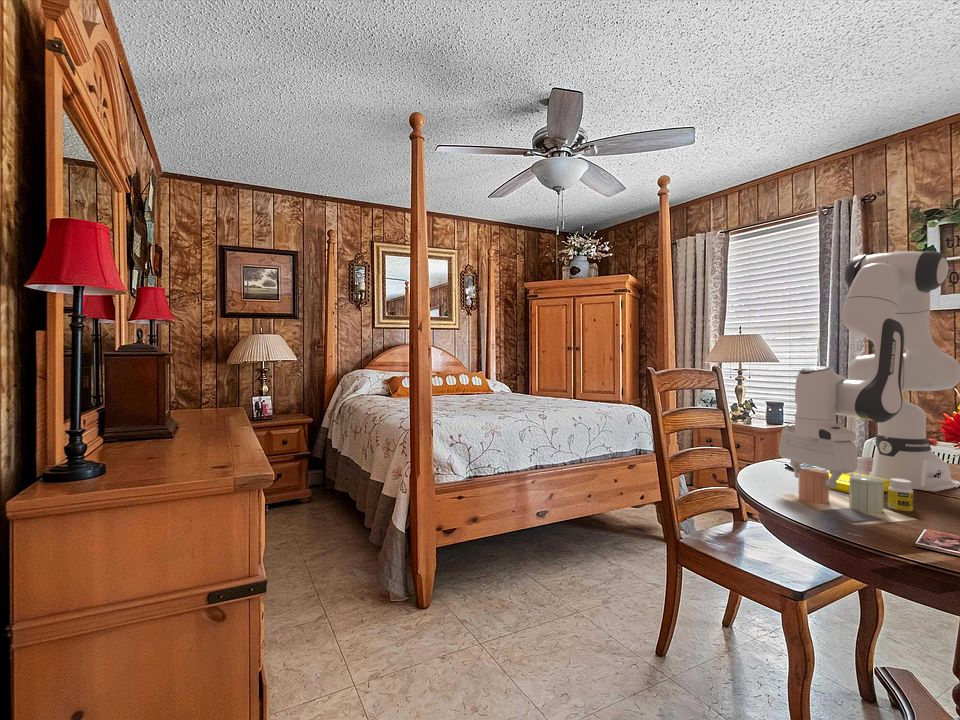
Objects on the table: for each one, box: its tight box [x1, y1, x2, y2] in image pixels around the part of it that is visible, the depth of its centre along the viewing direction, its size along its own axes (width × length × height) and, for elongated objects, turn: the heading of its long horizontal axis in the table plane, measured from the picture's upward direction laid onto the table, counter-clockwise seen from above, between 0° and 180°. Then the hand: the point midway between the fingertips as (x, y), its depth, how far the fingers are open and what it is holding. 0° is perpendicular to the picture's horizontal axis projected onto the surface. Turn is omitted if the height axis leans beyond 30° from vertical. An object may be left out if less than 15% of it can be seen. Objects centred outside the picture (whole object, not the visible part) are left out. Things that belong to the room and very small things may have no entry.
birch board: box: [775, 491, 919, 526], centre depth 122 cm, size 17×23×2 cm
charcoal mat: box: [820, 508, 881, 524], centre depth 116 cm, size 8×8×1 cm
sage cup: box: [848, 475, 885, 514], centre depth 120 cm, size 6×6×8 cm
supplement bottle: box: [887, 478, 914, 512], centre depth 121 cm, size 5×5×8 cm
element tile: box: [827, 470, 891, 494], centre depth 140 cm, size 15×15×5 cm
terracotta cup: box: [798, 467, 830, 504], centre depth 128 cm, size 6×6×8 cm
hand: (814, 482), depth 127 cm, fingers open, 8 cm apart
